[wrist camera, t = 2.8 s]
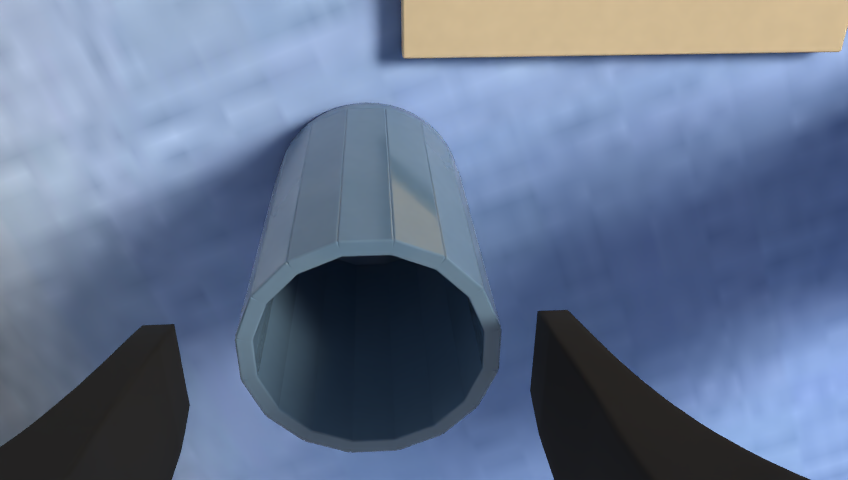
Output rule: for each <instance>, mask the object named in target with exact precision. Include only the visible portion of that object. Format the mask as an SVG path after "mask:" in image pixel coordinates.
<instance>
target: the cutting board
mask: <svg viewBox="0 0 848 480" xmlns="http://www.w3.org/2000/svg"><path fill="white" fill-rule="evenodd" d="M847 26H848V0H401V40H402V56H403V58H405V59H407V58H473V57H539V56H604V55H670V54H736V53H801V52H839V51H841V48H842V45H843V41H844V37H845V34H846V30H847Z"/></svg>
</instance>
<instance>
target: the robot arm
mask: <svg viewBox="0 0 848 480" xmlns="http://www.w3.org/2000/svg"><path fill="white" fill-rule="evenodd" d="M530 391H531V397H532V402H533V407H534V412H535V417H536V422H537V427H538V432H539V436H540V439H541V442H542V445H543V448H544V451H545V454H546V457H547V460H548V463H549V466H550V469H551V472H552V474H553V477H554V480H810V479H808V478H805V477H803V476H800V475H798V474H796V473H793V472H791V471H789V470H787V469H785V468H783V467H780V466H778V465H776V464H774V463H772V462H770V461H767V460H765V459H763V458H761V457H759V456H757V455H755V454H754V453H752V452H750V451H748V450H746V449H744V448H742V447H740V446H738V445H737V444H735V443H733V442H731V441H730V440H728V439H726V438H724V437H723V436H721V435H719V434H717V433H716V432H714V431H712V430H711V429H709V428H707V427H706V426H704V425H703V424H701V423H699V422H698V421H696V420H695V419H694V418H692V417H691V416H689V415H688V414H686V413H685V412H683V411H682V410H680V409H679V408H677V407H676V406H674V405H673V404H672V403H670V402H669V401H668V400H666V399H665V398H664V397H662V396H661V395H660V394H658V393H657V392H656V391H655V390H653V389H652V388H651V387H650V386H649V385H647V384H646V383H645V382H644V381H642V380H641V379H640V378H639V377H638V376H636V375H635V374H634V373H633V372H632V371H631V370H629V369H628V368H627V367H626V366H625V365H624V364H623V363H622V362H620V361H619V360H618V359H617V358H616V357H615V356H614V355H613V354H612V353H611V352H610V351H609V350H608V349H607V348H606V347H605V346H603V345H602V344H601V343H600V342H599V341H598V340H597V339H596V338H595V337H594V336H593V335H592V334H591V333H590V332H589V331H588V330H587V329H586V328H585V327H584V326H583V325H582V324H581V323H580V322H579V321H578V320H577V319H576V318H575V317H574V316H573V315H572V314H571V313H570V312H569V311H568V310H555V311H538V313H537V324H536V335H535V346H534V356H533V367H532V378H531V389H530ZM189 406H190V404H189V399H188V394H187V389H186V383H185V378H184V373H183V368H182V363H181V357H180V352H179V347H178V342H177V336H176V331H175V326H174V324H167V325H142V326H141V327H140V328H139V329H138V330H137V331H136V332H135V333H134V334H133V335H131V336H130V337H129V338H128V339H127V340H126V341H125V342H124V343H123V344H122V345H121V346H120V347H119V348H118V349H117V350H116V351H115V352H114V353H113V354H112V355H111V356H110V357H109V358H108V359H106V360H105V361H104V362H103V363H102V364H101V365H100V366H99V367H98V368H97V369H96V370H95V371H94V372H93V373H91V374H90V375H89V376H88V377H87V378H86V379H85V380H84V381H83V382H82V383H81V384H80V385H78V386H77V387H76V388H75V389H74V390H73V391H71V392H70V393H69V394H68V395H67V396H65V397H64V398H63V399H62V400H61V401H60V402H58V403H57V404H56V405H55V406H54V407H52V408H51V409H50V410H49V411H48V412H46V413H45V414H44V415H43V416H42V417H40V418H39V419H38V420H37V421H35V422H34V423H33V424H32V425H30V426H29V427H28V428H26V429H25V430H24V431H22V432H21V433H20V434H18V435H17V436H15V437H14V438H13V439H11V440H10V441H8V442H7V443H5V444H4V445H3V446H1V447H0V480H172V477H173V474H174V471H175V468H176V465H177V462H178V459H179V456H180V453H181V449H182V444H183V439H184V434H185V429H186V423H187V418H188V412H189Z"/></svg>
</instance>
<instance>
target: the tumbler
mask: <svg viewBox="0 0 848 480" xmlns="http://www.w3.org/2000/svg"><path fill="white" fill-rule="evenodd" d="M235 343H236V350H237V357H238V364H239V371H240V377H241V380H242V383H243V384H244V385H245V387H246V388H247V390H248V391H249V393H250V394H251V395H252V397H253V398H254V400H255V401H256V403H257V404H258V406H259V407H260V408H261V410H262V411H263V413H264V414H265V415H267V417H268V418H270V419H271V420H273V421H274V422H276V423H277V424H279V425H280V426H282V427H283V428H285V429H287V430H288V431H290V432H291V433H293V434H294V435H296V436H297V437H299V438H300V439H302V440H305V441H306V442H310V443H314V444H318V445H322V446H326V447H330V448H334V449H338V450H342V451H346V452H350V451H351V452H374V451H395V450H401V449H403V448H406V447H409V446H412V445H415V444H417V443H420V442H423V441H426V440H429V439H432V438H434V437H437V436H440V435H442V434H444V433H445V432H446V431H448V430H449V429H450V428H451V427H453V426H454V425H455V424H457V423H458V422H459V421H460V420H462V419H463V418H464V417H465V416H467V415H468V414H469V413H470V412H472V411H473V410H474V409H476V407H477V406H478V405H479V403H480V402H481V400H482V398H483V396H484V395H485V393H486V391H487V389H488V388H489V386H490V384H491V382H492V381H493V379H494V377H495V375H496V374H497V372H498V369H499V358H500V343H501V325H500V322H499V318H498V314H497V311H496V307H495V303H494V299H493V296H492V292H491V288H490V284H489V281H488V277H487V273H486V270H485V266H484V262H483V258H482V255H481V251H480V247H479V243H478V240H477V236H476V232H475V229H474V225H473V221H472V217H471V214H470V210H469V206H468V202H467V199H466V195H465V191H464V188H463V184H462V180H461V176H460V174H459V172H458V169H457V167H456V164H455V161H454V158H453V155H452V153H451V151H450V149H449V147H448V146H447V144H446V143H445V141H444V140H443V138H442V137H441V136H440V135H439V134H438V133H437V131H436V130H435V129H434V128H433V127H431V126H430V125H429V124H428V123H427V122H425V121H424V120H423V119H421V118H419V117H418V116H416V115H414V114H412V113H410V112H408V111H406V110H404V109H401V108H397V107H394V106H391V105H385V104H379V103H359V104H351V105H346V106H342V107H339V108H336V109H333V110H330V111H328V112H326V113H324V114H322V115H320V116H318V117H317V118H315V119H314V120H313V121H311V122H310V123H308V124H307V125H306V126H305V127H304V128H303V129H302V130H301V131H300V132H299V133H298V134H297V135H296V137H295V138H294V139H293V140H292V142H291V144H290V145H289V147H288V148H287V150H286V153H285V155H284V157H283V160H282V163H281V167H280V170H279V173H278V176H277V178H276V181H275V185H274V189H273V193H272V197H271V201H270V205H269V208H268V212H267V216H266V220H265V224H264V228H263V231H262V235H261V239H260V243H259V247H258V251H257V254H256V258H255V262H254V266H253V270H252V274H251V278H250V281H249V285H248V289H247V293H246V297H245V301H244V304H243V308H242V312H241V316H240V320H239V324H238V328H237V331H236V335H235Z"/></svg>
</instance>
